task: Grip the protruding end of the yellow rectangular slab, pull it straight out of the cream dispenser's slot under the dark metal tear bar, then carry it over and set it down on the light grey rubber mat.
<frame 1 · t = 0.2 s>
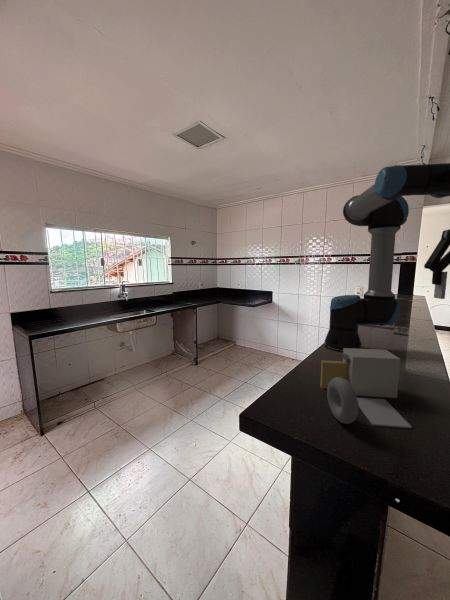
mat: (379, 412, 62), on the table
dispenser: (367, 389, 74), on the table
yellow rectangular slab: (340, 388, 75), on the table
donut: (340, 420, 59), on the table
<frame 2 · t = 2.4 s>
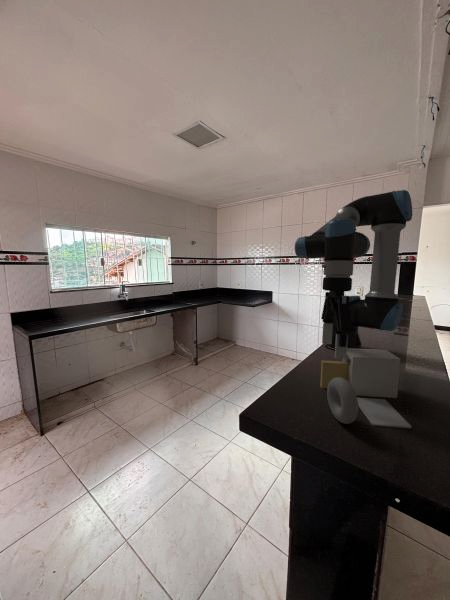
hand: (332, 350, 73), 11 cm above the table, fingers open, 13 cm apart
nothing on the table moved.
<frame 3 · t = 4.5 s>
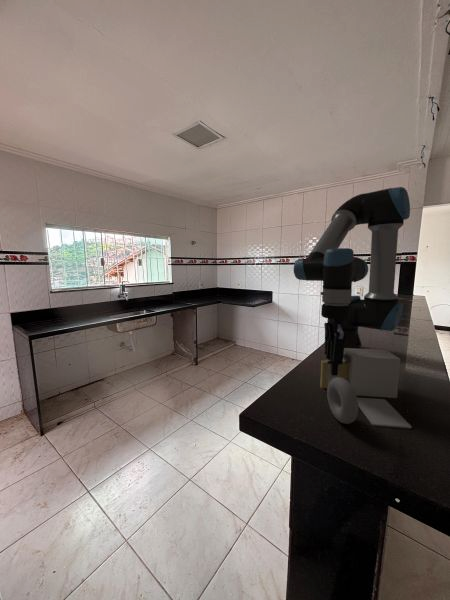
hand: (331, 382, 75), 2 cm above the table, fingers closed on yellow rectangular slab, 2 cm apart
yellow rectangular slab: (340, 388, 75), on the table, touching gripper
everything else where it was.
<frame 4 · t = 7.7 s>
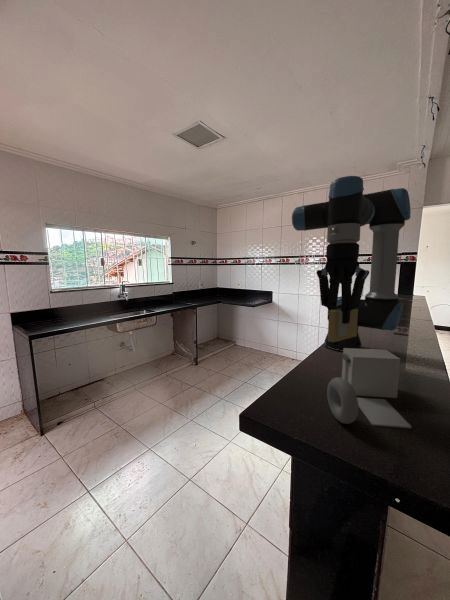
hand: (337, 334, 67), 18 cm above the table, fingers closed on yellow rectangular slab, 2 cm apart
yellow rectangular slab: (342, 338, 68), point 16 cm above the table, touching gripper
everything else where it was.
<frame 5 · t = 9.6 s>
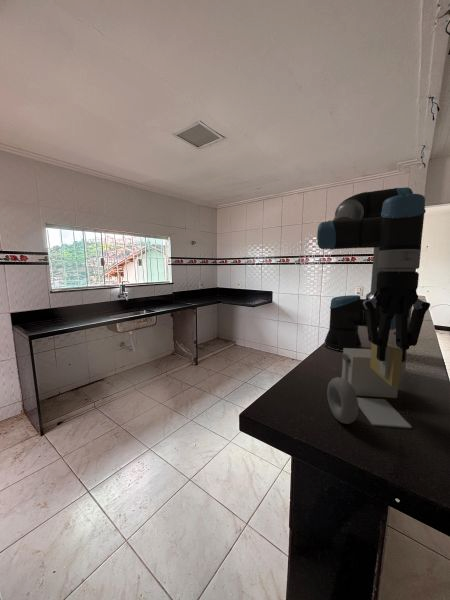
hand: (389, 374, 58), 11 cm above the table, fingers closed on yellow rectangular slab, 2 cm apart
yellow rectangular slab: (383, 376, 60), point 9 cm above the table, touching gripper
everything else where it was.
when the fingers open (3 cm above the table, at t = 11.3 s): yellow rectangular slab drops 1 cm, resting on mat.
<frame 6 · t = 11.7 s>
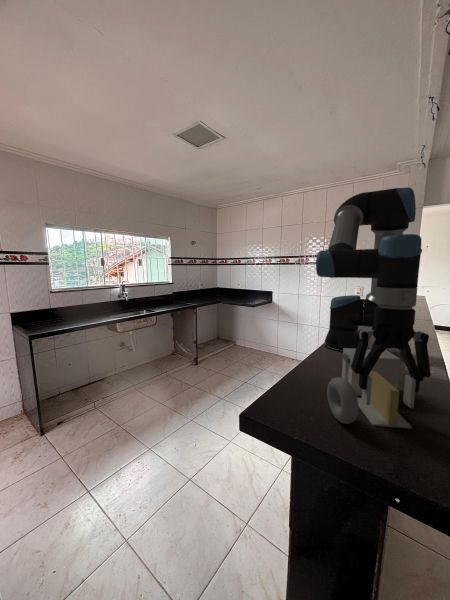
hand: (386, 403, 59), 4 cm above the table, fingers open, 8 cm apart
yellow rectangular slab: (380, 411, 62), resting on mat
everything else where it was.
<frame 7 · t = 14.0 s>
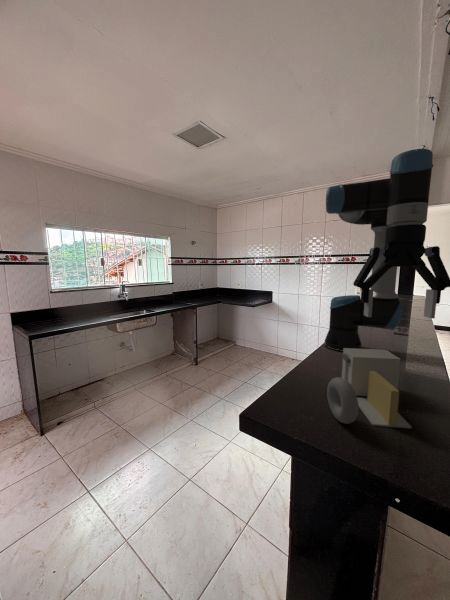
hand: (397, 316, 61), 23 cm above the table, fingers open, 13 cm apart
nothing on the table moved.
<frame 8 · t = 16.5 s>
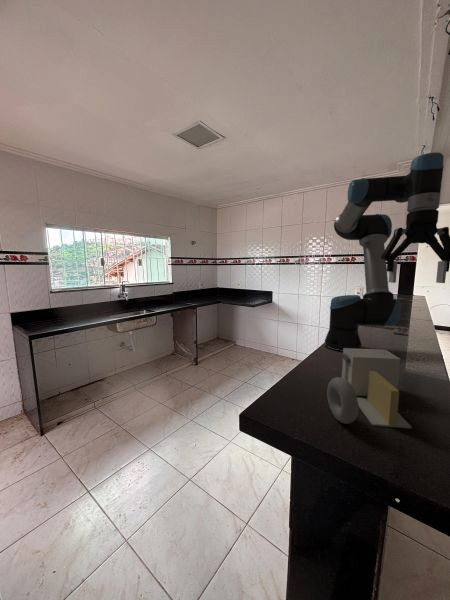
hand: (415, 282, 78), 31 cm above the table, fingers open, 13 cm apart
nothing on the table moved.
at the end: yellow rectangular slab inside the target area on the mat (0.5 cm from its centre), point 0.4 cm above the mat's base; yellow rectangular slab touching mat; the gripper is holding nothing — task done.
